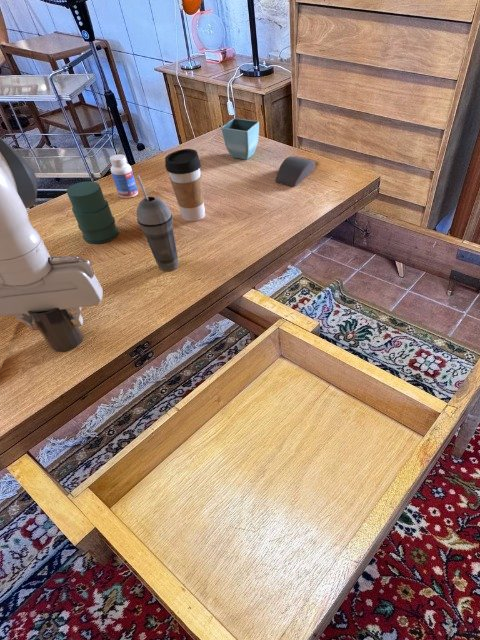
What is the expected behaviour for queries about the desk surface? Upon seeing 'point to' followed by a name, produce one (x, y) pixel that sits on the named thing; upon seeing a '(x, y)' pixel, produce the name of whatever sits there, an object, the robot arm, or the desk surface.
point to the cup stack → (92, 212)
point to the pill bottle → (123, 176)
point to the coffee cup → (187, 182)
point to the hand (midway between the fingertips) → (57, 326)
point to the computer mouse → (294, 170)
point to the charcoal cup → (57, 329)
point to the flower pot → (241, 137)
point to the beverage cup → (158, 230)
